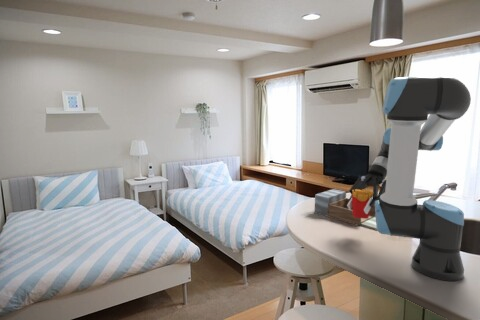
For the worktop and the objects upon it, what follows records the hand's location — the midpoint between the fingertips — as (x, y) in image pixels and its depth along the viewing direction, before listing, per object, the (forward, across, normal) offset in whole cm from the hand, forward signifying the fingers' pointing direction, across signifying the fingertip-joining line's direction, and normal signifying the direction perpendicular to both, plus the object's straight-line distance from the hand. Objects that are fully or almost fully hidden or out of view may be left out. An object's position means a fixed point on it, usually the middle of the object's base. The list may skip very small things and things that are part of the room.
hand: (356, 209), depth 130 cm
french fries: (0, 0, -5) cm, 5 cm away
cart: (-7, +16, -23) cm, 29 cm away
